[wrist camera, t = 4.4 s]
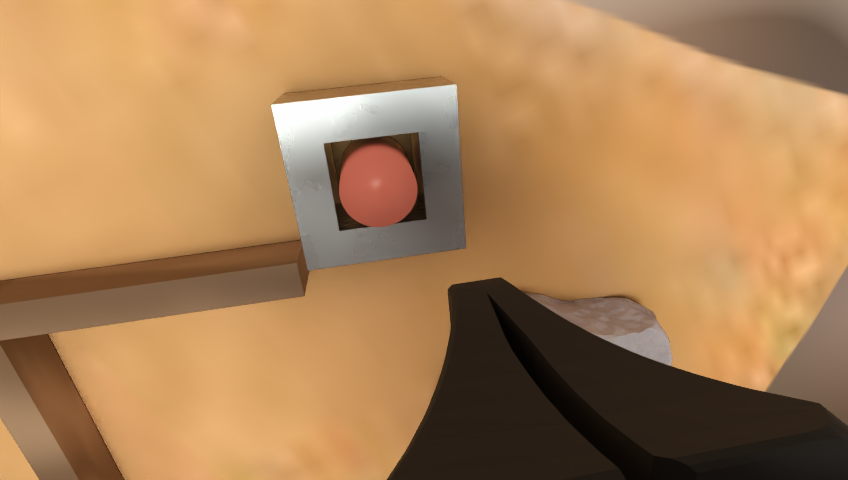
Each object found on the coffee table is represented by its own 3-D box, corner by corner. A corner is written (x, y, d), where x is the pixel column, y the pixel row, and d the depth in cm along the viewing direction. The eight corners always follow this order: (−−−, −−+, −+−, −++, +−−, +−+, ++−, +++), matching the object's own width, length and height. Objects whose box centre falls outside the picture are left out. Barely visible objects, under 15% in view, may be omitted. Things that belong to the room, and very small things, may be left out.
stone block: (425, 436, 28) (586, 465, 28) (420, 505, 24) (611, 540, 24) (465, 259, 24) (653, 294, 24) (468, 302, 20) (699, 344, 20)
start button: (411, 194, 19) (421, 221, 16) (347, 202, 19) (345, 231, 16) (404, 130, 18) (413, 147, 15) (336, 138, 17) (332, 157, 15)
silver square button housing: (451, 219, 20) (466, 248, 18) (314, 238, 20) (307, 270, 17) (441, 76, 18) (456, 84, 15) (284, 93, 17) (271, 104, 15)
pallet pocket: (365, 526, 28) (366, 564, 26) (140, 568, 27) (123, 612, 25) (302, 239, 20) (296, 262, 18) (-22, 283, 19) (-66, 313, 17)
